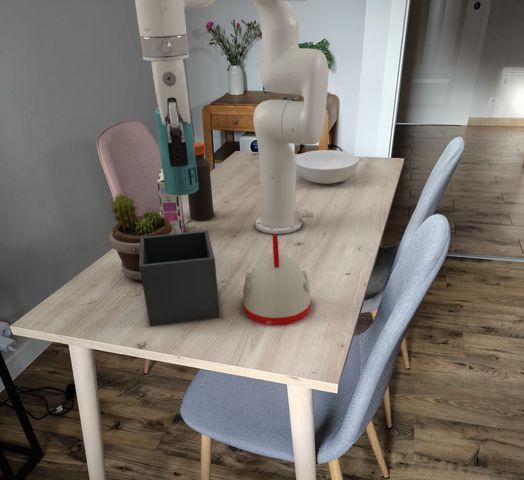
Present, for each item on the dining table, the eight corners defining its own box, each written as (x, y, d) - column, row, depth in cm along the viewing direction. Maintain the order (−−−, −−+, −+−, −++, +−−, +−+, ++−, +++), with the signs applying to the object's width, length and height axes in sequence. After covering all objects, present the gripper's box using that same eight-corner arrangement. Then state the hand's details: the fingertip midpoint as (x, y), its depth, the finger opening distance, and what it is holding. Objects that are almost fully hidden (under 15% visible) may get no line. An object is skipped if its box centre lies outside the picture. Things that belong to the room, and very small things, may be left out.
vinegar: (186, 220, 152) (178, 147, 140) (195, 211, 157) (187, 140, 145) (209, 222, 150) (202, 148, 139) (217, 213, 155) (211, 141, 144)
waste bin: (213, 285, 119) (207, 230, 111) (220, 317, 108) (214, 258, 100) (149, 292, 117) (140, 237, 110) (149, 326, 106) (139, 266, 98)
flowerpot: (189, 261, 130) (179, 178, 118) (167, 291, 117) (154, 202, 106) (133, 257, 132) (118, 176, 121) (106, 286, 120) (87, 199, 109)
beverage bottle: (194, 204, 98) (181, 84, 87) (160, 202, 100) (143, 84, 88) (204, 192, 104) (193, 78, 92) (172, 191, 105) (157, 78, 93)
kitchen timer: (307, 289, 116) (308, 223, 107) (313, 323, 105) (315, 252, 96) (243, 292, 116) (239, 226, 107) (243, 326, 105) (238, 255, 96)
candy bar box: (184, 243, 138) (176, 180, 129) (165, 244, 138) (156, 181, 129) (186, 227, 147) (178, 166, 138) (167, 228, 147) (159, 168, 138)
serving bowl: (282, 183, 176) (281, 162, 172) (314, 167, 189) (314, 147, 185) (338, 194, 165) (339, 171, 162) (367, 176, 179) (369, 154, 175)
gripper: (191, 52, 81) (202, 172, 91) (184, 42, 95) (195, 146, 105) (141, 55, 80) (158, 176, 90) (142, 44, 94) (157, 149, 104)
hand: (178, 159), depth 98 cm, fingers closed on beverage bottle, 6 cm apart
